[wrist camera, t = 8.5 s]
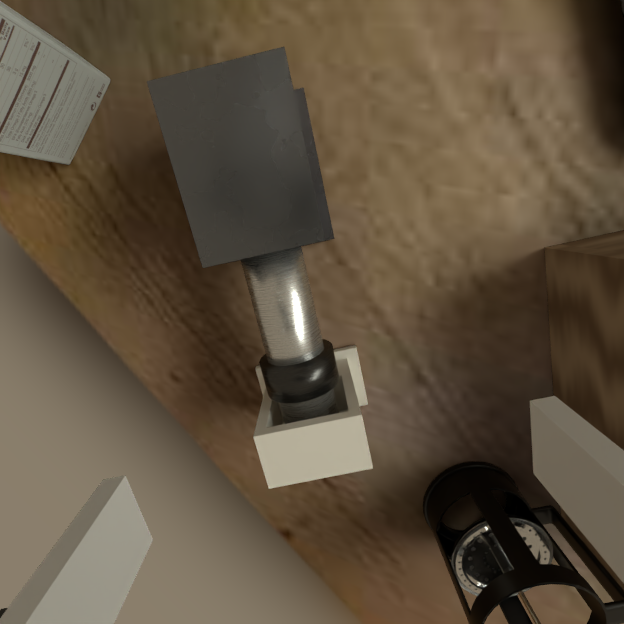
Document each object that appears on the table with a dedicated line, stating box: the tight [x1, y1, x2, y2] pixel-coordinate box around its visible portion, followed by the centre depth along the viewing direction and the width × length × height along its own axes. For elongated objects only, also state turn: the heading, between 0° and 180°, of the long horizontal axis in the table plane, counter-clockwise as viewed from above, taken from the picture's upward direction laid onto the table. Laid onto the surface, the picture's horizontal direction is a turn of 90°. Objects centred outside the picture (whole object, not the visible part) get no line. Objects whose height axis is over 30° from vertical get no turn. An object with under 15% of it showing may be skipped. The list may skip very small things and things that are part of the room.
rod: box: [241, 246, 339, 424], centre depth 25 cm, size 16×5×5 cm, turn 13°
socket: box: [253, 345, 373, 489], centre depth 29 cm, size 6×9×10 cm, turn 103°
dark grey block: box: [147, 47, 334, 268], centre depth 24 cm, size 11×9×10 cm
